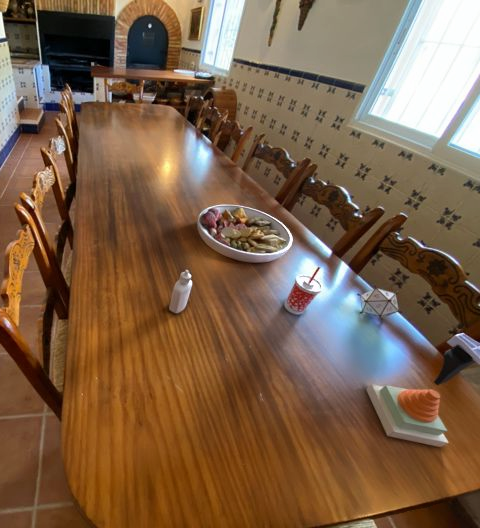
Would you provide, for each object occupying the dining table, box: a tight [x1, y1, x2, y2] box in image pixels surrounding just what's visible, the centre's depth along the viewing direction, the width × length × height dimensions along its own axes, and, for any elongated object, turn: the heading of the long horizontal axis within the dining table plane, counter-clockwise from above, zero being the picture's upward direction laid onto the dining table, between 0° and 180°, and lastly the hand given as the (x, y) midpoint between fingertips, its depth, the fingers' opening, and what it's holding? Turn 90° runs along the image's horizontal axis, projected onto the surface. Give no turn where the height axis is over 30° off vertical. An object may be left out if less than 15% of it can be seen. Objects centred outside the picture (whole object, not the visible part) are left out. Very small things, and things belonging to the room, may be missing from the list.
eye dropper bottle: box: [168, 269, 193, 314], centre depth 71 cm, size 4×6×12 cm
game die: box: [356, 284, 404, 322], centre depth 75 cm, size 9×8×10 cm
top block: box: [380, 385, 448, 435], centre depth 55 cm, size 7×7×2 cm
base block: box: [365, 384, 449, 448], centre depth 56 cm, size 9×9×2 cm
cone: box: [397, 388, 442, 423], centre depth 53 cm, size 6×6×5 cm
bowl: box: [196, 204, 293, 264], centre depth 98 cm, size 30×30×8 cm
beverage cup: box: [283, 266, 324, 315], centre depth 73 cm, size 6×6×14 cm
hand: (463, 403), depth 49 cm, fingers open, 7 cm apart
